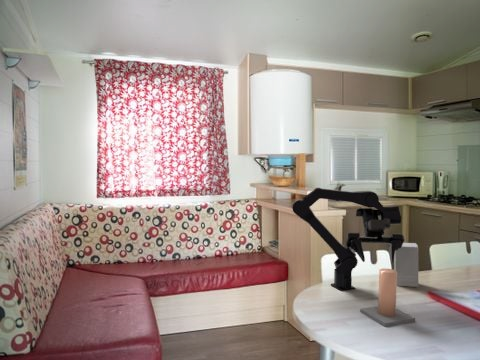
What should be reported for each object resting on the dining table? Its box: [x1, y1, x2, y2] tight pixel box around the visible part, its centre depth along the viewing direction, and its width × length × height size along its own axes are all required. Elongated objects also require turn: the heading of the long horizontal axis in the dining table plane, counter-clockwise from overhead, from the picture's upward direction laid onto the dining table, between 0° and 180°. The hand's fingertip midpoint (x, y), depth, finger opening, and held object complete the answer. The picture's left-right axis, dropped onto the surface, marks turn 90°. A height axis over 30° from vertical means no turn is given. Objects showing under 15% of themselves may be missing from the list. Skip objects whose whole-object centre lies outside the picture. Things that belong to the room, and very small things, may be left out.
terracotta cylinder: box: [377, 267, 398, 317], centre depth 112 cm, size 5×5×13 cm
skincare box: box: [393, 242, 420, 288], centre depth 142 cm, size 8×7×16 cm
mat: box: [359, 305, 416, 328], centre depth 112 cm, size 11×11×1 cm
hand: (378, 261), depth 123 cm, fingers open, 9 cm apart
